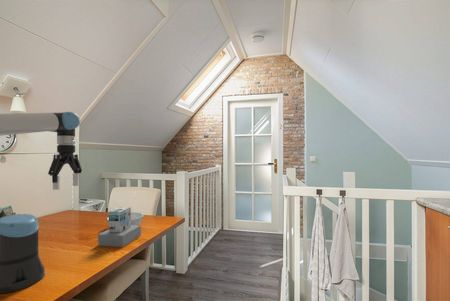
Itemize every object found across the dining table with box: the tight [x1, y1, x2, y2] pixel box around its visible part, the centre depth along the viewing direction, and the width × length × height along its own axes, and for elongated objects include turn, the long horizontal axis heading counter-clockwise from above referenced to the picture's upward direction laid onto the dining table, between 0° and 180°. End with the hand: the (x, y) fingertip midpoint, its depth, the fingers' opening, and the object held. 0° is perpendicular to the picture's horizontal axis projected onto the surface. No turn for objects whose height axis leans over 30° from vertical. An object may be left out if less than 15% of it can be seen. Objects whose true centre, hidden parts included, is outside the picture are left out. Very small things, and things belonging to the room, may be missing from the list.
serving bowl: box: [106, 211, 144, 225], centre depth 146 cm, size 21×21×7 cm
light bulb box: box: [107, 206, 132, 233], centre depth 124 cm, size 11×7×11 cm, turn 172°
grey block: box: [97, 224, 142, 248], centre depth 124 cm, size 16×14×6 cm
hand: (66, 187), depth 116 cm, fingers open, 13 cm apart
